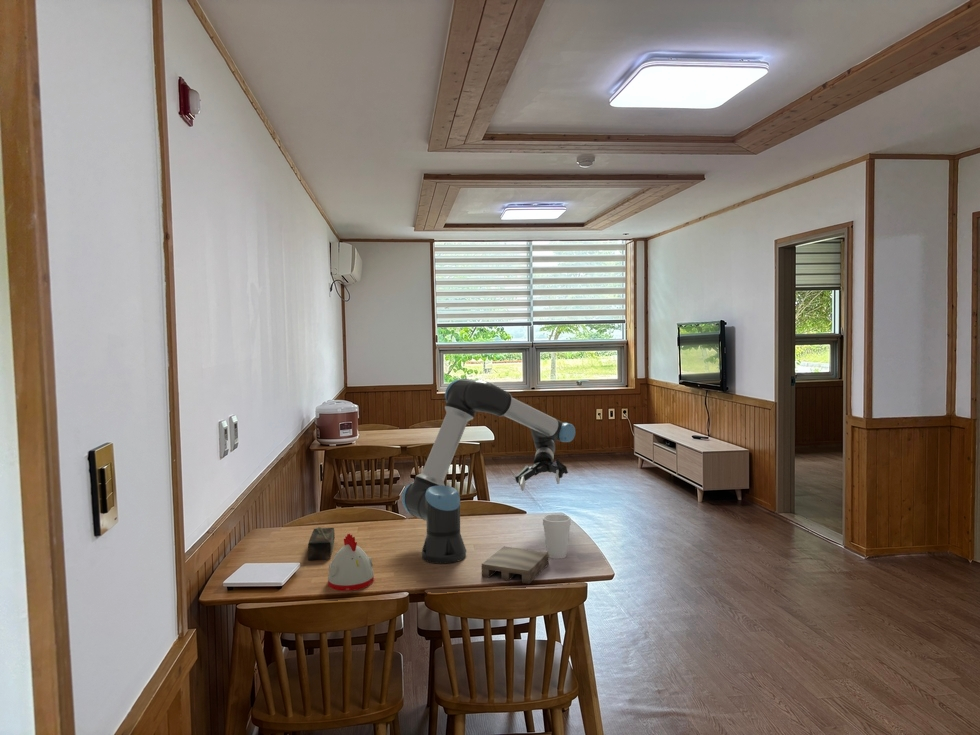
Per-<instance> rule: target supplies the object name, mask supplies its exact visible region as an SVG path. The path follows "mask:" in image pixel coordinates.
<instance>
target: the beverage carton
mask: <svg viewBox="0 0 980 735" xmlns="http://www.w3.org/2000/svg"><path fill="white" fill-rule="evenodd" d="M335 535H336V534H335V527H320V526H319V527H316V528H313V531H312V533H311V535H310V537H309V540H308V544H307V560H308V561H322V560H323V561H325V560H330V559H331V558H332V555H333V550H334V546H335V545H334V544H335V539H336V538H335Z"/></svg>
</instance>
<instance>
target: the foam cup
mask: <svg viewBox="0 0 980 735" xmlns="http://www.w3.org/2000/svg"><path fill="white" fill-rule="evenodd" d="M571 519H572V518H571V517H570V516H569V515H565V514H560V513H559V514H556V513H555V514H552V513H551V514H547V515H545V516H543V517H542V526H543V530H544V532H543V533H544V538H545V544H546V552H548V556H549V558H551V559H555V560H556V559H557V560H558V559H565V558H566V557H567V554H568V545H569V537H570V530H571V529H570V528H571V523H572V521H571Z"/></svg>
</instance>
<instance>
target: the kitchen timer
mask: <svg viewBox="0 0 980 735" xmlns="http://www.w3.org/2000/svg"><path fill="white" fill-rule="evenodd" d="M357 543H358V541H356V537H355V536H353V534H351V533H347V535H345V538H343V544H344V545H343V546H341V548H340V549H339V550H338V551H337V552H336V553H335V555H334V557H333V559H332V561H331V562H329V565H328V577H327V585H328V587H329V588H330V589H332V590H335V591H340V592H341V591H345V592H347V591H349V592H351V591H356V590H361V589H365V588H367V587H369V586H370V585H372V584H373V582H375V578H374V575H375V574H374V570H373V561H372V557H371V556H368V555H367V553H366V552H365V551H364V550H363V549H362V547H360V546H358V544H357Z"/></svg>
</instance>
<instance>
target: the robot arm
mask: <svg viewBox="0 0 980 735" xmlns="http://www.w3.org/2000/svg"><path fill="white" fill-rule="evenodd" d="M444 392H445V393H444V398H445V402H446V403H445V405H444V410H445V412H446V413H445V416H444V418H443V420H442V423H441V426H440V429H439V430H438V432H437V435H436V437H435V440H434V443H433V445H432V447H431V450H430V453H429V454H428V456H427V460H426V461H425V464H424V467H423V468H422V469H423V470H422V471H421V472H420V473H419V474H417V475H415V478H414V480H413V482H410V484H407V485H406V487H405V488H404V490H403V492H402V495H401V502H402V506H403V509H405V511H406V512H407V513H408V514H410V515H411V516H412V517H415V518H418V519H420V520H422V521H425V522H426V523H425V524H426V536H425V539H424V543H423V547H422V549H421V559H422V560H424V561H426V562H428V563H431V564H451V563H456V562H459V561H461V560H463V559H465V558H466V555H467V552H466V551H467V549H466V545H465V543H464V539H463V537H462V534H461V497H460V493H459V491H458V490H457V489H456V488H455V487H452V486H449V485H446V484H445V482H444V481H445V479H446V476H447V474H448V471H449V469H450V466H451V464H452V461H453V459H454V456H455V454H456V452H457V449H458V446H459V444H460V442H461V439H462V436H463V434H464V431H465V429H466V427H467V424H468V422H470V421H472V420H474V419H475V415H476V412H479V413H488V414H490V415H494V416H497V417H505V418H508V419H510V420H512V421H514V422H516V423H518V424H520V425H522V426H524V427H527V428H529V429H530V434H531V437H532V439H533V443H534V446H535V455H534V460H533V464H532V465H531V466H529V465H528V464H526V465H525V466H524V468H523V469H521V471H519V472H518V473H517V474H516V475H515V476H514V479H515V481H516V484H518V485H519V486H520V491H522V492H523V491H525V487H526V481H527V480H529V479H531V478H532V477H534V476H537V475H538V474H541V473H554V474H555V481H556V484H557V485H560V480H561V479H562V478H563V476H564V474H568V468H567V466H566V465H564V464H563V463H562V462H561V461H560V459H555V461H554V457H555V456H554V455H555V452H556V443H555V441H557V442H562V443H570V442H572V441H573V440H574V439H575V436H576V428H575V426H574V424H572V423H568V422H563V421H561V420H559V419H557V418H555V417H554V416H553V417H552V416H550V415H548V414H547V413H545V412H542V411H541V410H538V409H536V408H534V407H532V406H530V405H529V404H527V403H525V402H523V401H520V400H519V399H516V398H514V397H513V396H512V394H511V393H510V392H509V391H506V390H504V389H503V388H501V387H499V386H497V385H495V384H493V383H491V382H488V381H487V380H481V379H472V378H471V379H469V378H458V379H455V380H453V381H451V382H450V383H449V384H448V385H447V387H446V388H445V391H444Z"/></svg>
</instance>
